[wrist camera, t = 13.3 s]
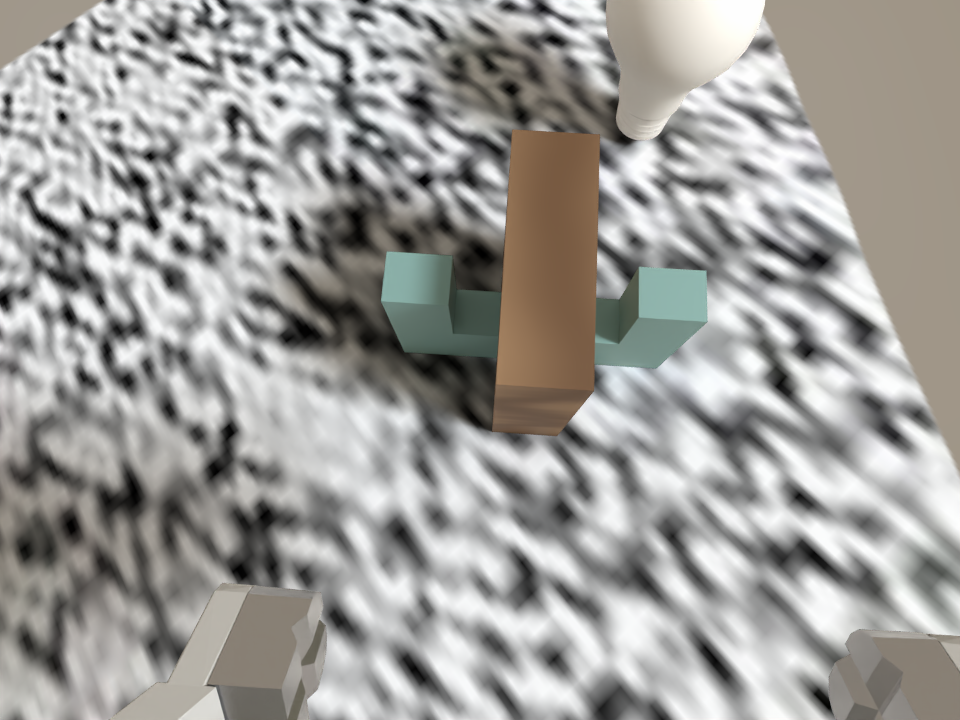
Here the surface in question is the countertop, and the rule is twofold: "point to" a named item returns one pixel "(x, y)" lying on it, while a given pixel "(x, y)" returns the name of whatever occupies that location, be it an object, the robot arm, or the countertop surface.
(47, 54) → the countertop surface
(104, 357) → the countertop surface
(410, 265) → the teal bracket
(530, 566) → the countertop surface
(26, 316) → the countertop surface
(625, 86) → the lightbulb
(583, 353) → the brown arch block
